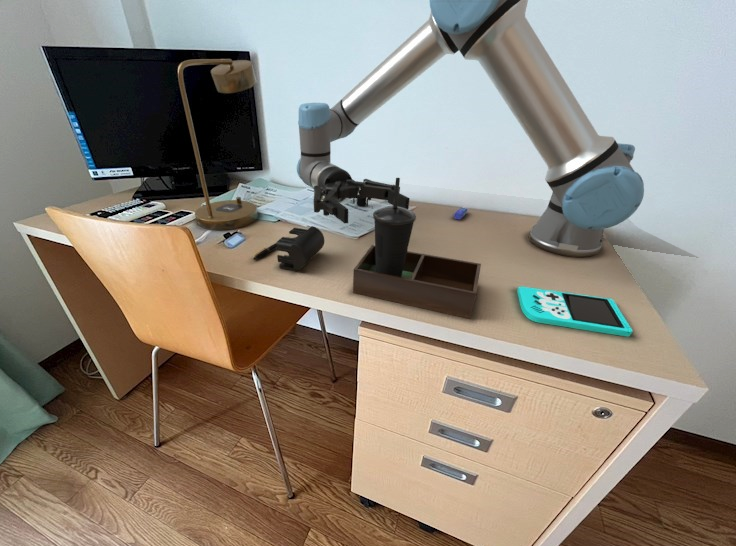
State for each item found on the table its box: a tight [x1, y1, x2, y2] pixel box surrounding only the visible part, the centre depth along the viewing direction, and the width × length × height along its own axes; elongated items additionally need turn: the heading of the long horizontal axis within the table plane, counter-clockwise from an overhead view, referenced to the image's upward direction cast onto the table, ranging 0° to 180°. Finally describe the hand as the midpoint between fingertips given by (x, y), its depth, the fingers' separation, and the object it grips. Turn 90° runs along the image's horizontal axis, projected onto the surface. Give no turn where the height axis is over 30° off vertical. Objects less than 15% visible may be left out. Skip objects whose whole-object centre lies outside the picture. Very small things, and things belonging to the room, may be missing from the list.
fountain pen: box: [252, 236, 291, 261], centre depth 83 cm, size 14×1×2 cm, turn 150°
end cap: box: [275, 225, 325, 272], centre depth 76 cm, size 10×7×7 cm
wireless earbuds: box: [352, 190, 372, 208], centre depth 106 cm, size 7×2×5 cm, turn 54°
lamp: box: [177, 58, 258, 231], centre depth 93 cm, size 17×27×38 cm, turn 157°
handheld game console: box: [516, 285, 633, 338], centre depth 61 cm, size 10×16×1 cm, turn 73°
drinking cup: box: [372, 177, 417, 277], centre depth 63 cm, size 8×8×20 cm
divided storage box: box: [352, 244, 482, 319], centre depth 66 cm, size 11×22×5 cm, turn 67°
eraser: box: [453, 206, 469, 221], centre depth 99 cm, size 2×6×2 cm, turn 145°
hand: (378, 210), depth 66 cm, fingers open, 13 cm apart
